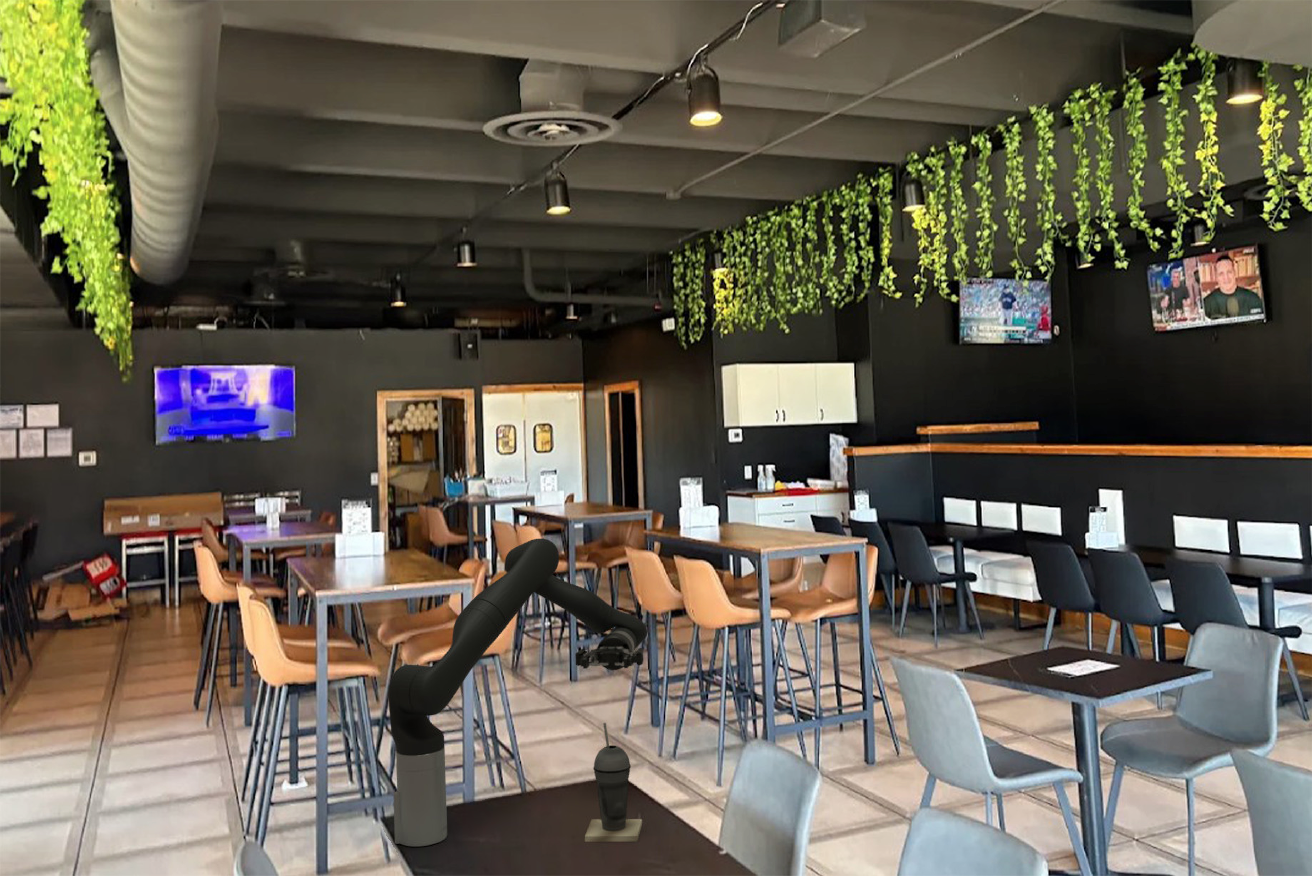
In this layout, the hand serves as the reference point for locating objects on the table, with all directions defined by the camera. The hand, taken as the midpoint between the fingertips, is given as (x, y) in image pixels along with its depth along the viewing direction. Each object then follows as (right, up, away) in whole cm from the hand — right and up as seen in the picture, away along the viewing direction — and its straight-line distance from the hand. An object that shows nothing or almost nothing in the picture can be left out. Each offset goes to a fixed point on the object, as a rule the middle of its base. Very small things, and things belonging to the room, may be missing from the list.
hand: (605, 663), depth 211 cm
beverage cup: (+2, -29, -13) cm, 32 cm away
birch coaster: (+2, -30, -14) cm, 33 cm away
